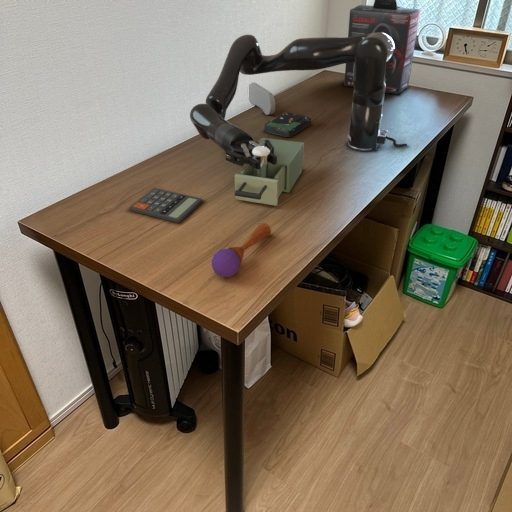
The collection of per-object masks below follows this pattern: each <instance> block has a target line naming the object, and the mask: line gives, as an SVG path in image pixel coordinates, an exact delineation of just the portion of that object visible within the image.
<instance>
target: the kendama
mask: <svg viewBox="0 0 512 512" xmlns="http://www.w3.org/2000/svg"><path fill="white" fill-rule="evenodd" d="M271 232H272V228H271V227H270V225H269V224H267V223H265V222H262V223H260V224H258V226H257V227H256V228H255V229H254V231H252V233H251V234H250V235H249V236H248V237H247V239H246V240H245V241H244V242H243V244H242V245H240V246H231V247H228V248H222V249H220V250H218V251H217V252H215V253H214V254H213V256H212V259H211V268H212V270H213V272H214V273H215V274H216V275H218V276H219V277H221V278H230V277H231V278H232V277H233V276H234V275H235V274H237V273H238V272H239V269H240V267H241V264H242V262H243V259H244V254H245V251H246V250H248V249H249V248H250V247H252V246H254V245H255V244H257V243H259V242H260V241H262V240H264V239H265V238H267V237H268V236H270V235H271Z"/></svg>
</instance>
